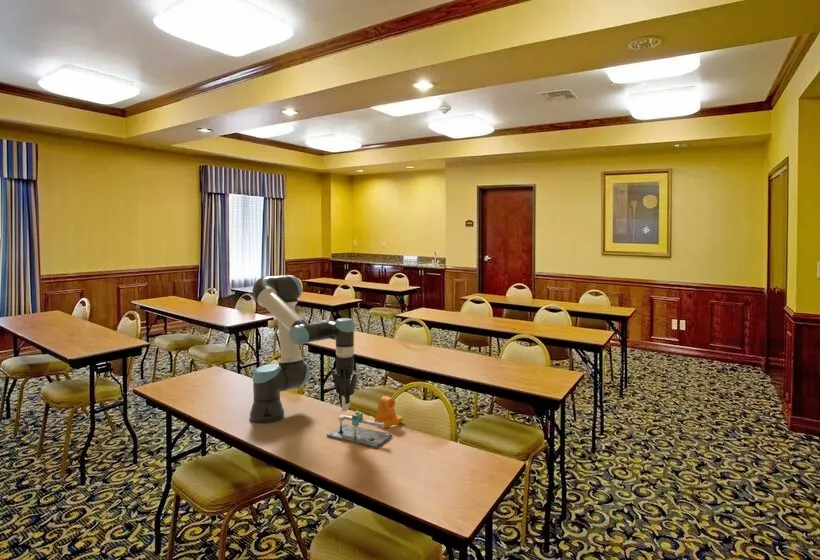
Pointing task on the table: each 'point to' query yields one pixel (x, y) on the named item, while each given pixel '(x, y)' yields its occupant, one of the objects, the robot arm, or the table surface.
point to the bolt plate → (360, 436)
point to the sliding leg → (356, 419)
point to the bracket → (387, 412)
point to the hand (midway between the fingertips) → (345, 410)
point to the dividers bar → (360, 422)
